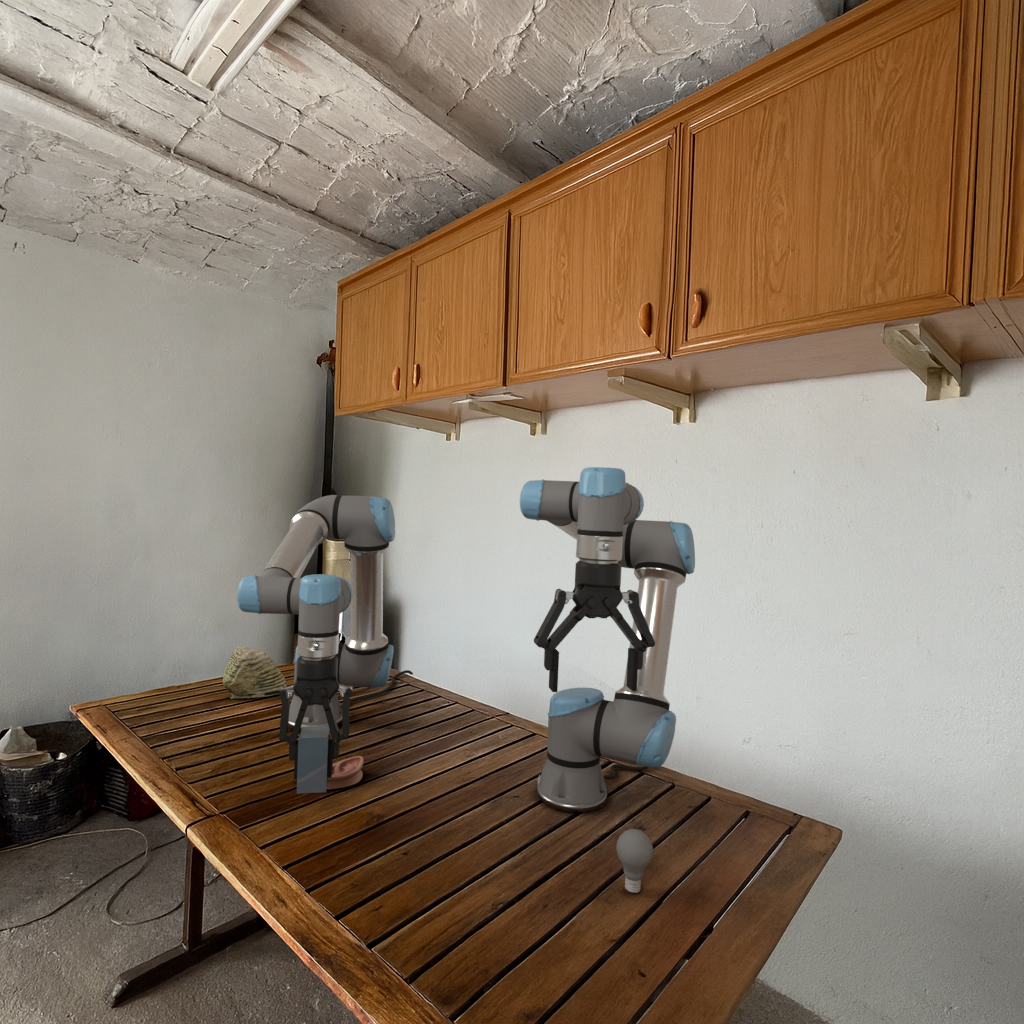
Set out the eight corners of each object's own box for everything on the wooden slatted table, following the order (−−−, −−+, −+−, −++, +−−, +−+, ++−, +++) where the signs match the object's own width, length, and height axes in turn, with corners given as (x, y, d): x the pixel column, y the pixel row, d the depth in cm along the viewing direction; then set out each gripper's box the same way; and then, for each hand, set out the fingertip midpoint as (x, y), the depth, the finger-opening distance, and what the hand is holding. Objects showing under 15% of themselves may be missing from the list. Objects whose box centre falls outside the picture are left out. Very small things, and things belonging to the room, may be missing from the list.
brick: (300, 780, 124) (302, 726, 124) (328, 778, 125) (330, 725, 125) (296, 793, 119) (298, 737, 118) (326, 792, 120) (328, 736, 120)
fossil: (218, 695, 195) (220, 647, 195) (278, 685, 208) (279, 640, 207) (228, 703, 189) (230, 653, 188) (289, 692, 201) (290, 645, 201)
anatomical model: (290, 768, 137) (317, 748, 149) (290, 786, 138) (316, 764, 149) (347, 776, 135) (370, 755, 146) (346, 794, 135) (369, 772, 146)
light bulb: (610, 879, 108) (613, 822, 108) (644, 879, 109) (647, 822, 109) (619, 902, 102) (622, 840, 102) (655, 901, 103) (658, 840, 103)
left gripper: (263, 661, 116) (259, 786, 117) (366, 660, 120) (361, 781, 120) (270, 651, 123) (266, 769, 124) (367, 650, 127) (363, 765, 128)
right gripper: (529, 561, 98) (523, 697, 99) (679, 565, 103) (672, 694, 104) (520, 557, 106) (514, 683, 106) (659, 560, 110) (654, 681, 111)
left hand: (313, 775), depth 122 cm, fingers closed on brick, 5 cm apart
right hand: (592, 689), depth 105 cm, fingers open, 13 cm apart
